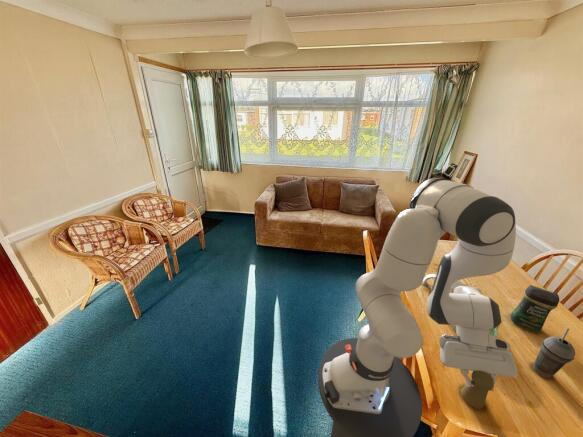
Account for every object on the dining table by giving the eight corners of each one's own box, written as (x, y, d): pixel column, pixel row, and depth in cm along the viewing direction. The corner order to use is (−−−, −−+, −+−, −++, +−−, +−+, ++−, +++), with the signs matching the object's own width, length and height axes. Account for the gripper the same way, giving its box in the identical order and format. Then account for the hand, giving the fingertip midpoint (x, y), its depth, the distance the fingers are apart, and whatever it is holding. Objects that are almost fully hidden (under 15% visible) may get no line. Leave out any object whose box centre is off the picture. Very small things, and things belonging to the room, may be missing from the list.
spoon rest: (476, 294, 114) (482, 283, 111) (477, 309, 105) (483, 297, 102) (424, 277, 126) (427, 266, 123) (421, 289, 118) (424, 277, 115)
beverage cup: (535, 378, 78) (565, 338, 69) (522, 358, 84) (548, 319, 76) (562, 385, 76) (596, 344, 67) (547, 364, 82) (576, 325, 74)
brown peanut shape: (456, 393, 73) (467, 371, 69) (467, 383, 76) (478, 362, 71) (477, 412, 69) (491, 391, 64) (488, 402, 71) (501, 380, 67)
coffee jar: (509, 323, 98) (528, 290, 90) (509, 312, 104) (527, 280, 96) (541, 336, 92) (564, 302, 85) (539, 324, 98) (560, 291, 90)
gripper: (443, 334, 73) (448, 385, 68) (516, 344, 70) (526, 399, 65) (434, 332, 78) (438, 379, 74) (500, 341, 75) (509, 391, 71)
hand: (480, 388), depth 69 cm, fingers closed on brown peanut shape, 4 cm apart
